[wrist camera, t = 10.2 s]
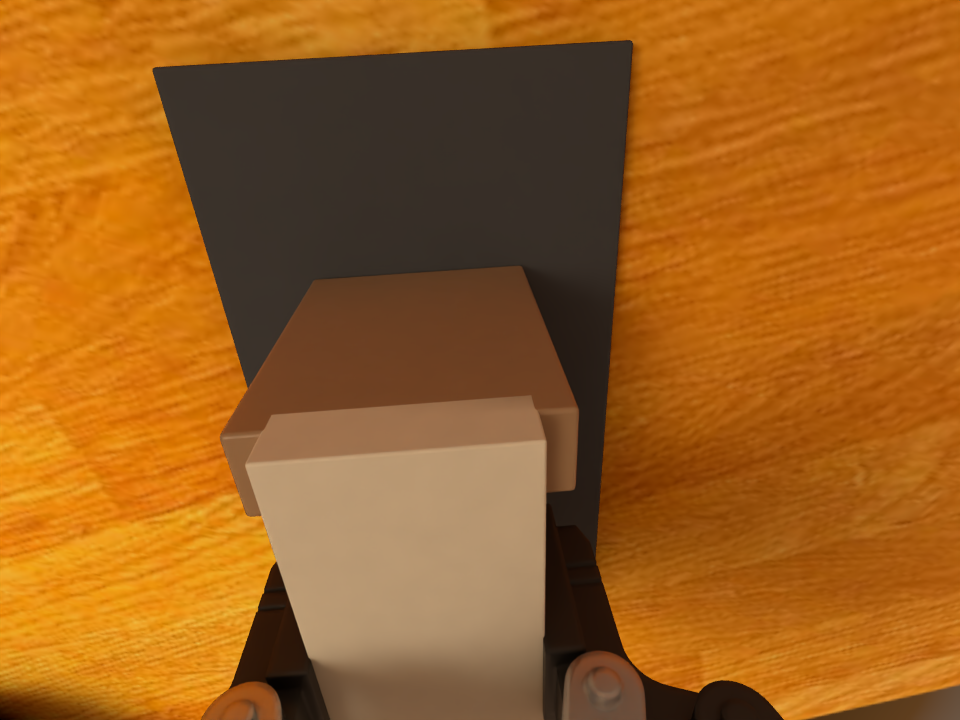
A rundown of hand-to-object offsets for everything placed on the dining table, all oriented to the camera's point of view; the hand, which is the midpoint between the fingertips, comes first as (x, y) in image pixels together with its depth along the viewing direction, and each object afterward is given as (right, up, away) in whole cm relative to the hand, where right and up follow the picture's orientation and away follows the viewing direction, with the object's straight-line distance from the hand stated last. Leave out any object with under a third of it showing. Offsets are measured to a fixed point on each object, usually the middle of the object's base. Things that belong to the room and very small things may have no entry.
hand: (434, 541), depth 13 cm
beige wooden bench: (0, +2, +3) cm, 4 cm away
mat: (0, +2, +4) cm, 4 cm away
